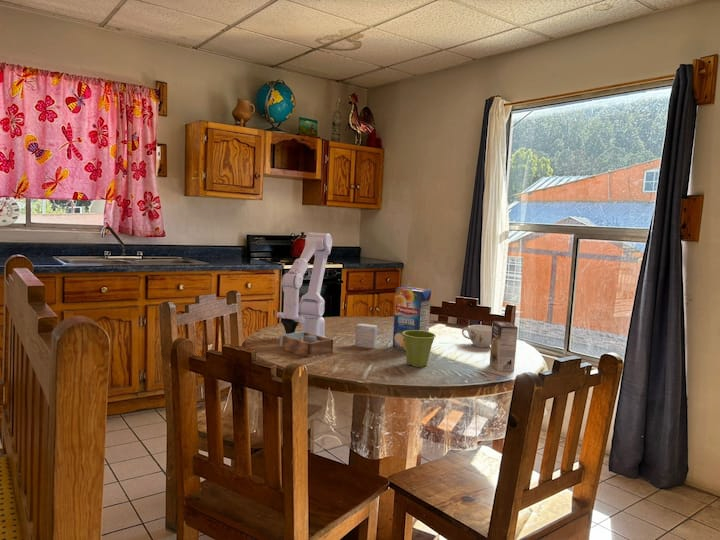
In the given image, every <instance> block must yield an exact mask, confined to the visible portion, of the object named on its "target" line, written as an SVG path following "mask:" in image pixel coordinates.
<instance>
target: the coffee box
mask: <svg viewBox="0 0 720 540" xmlns="http://www.w3.org/2000/svg"><path fill="white" fill-rule="evenodd" d="M491 326H492V338H491V345H490V351H489V352H490V353H489V355H490V356H489V365H490V366H492V368H493V369H495V370H496V371H497V372H514V371H515V364H516V352H517V342H518V341H517V339H518V331H519V330H518V329H519V328H518V326H516V325H514V324H513V323H511V322H509V321H494V320H493V321H492V324H491Z"/></svg>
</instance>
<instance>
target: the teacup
mask: <svg viewBox="0 0 720 540" xmlns="http://www.w3.org/2000/svg"><path fill="white" fill-rule="evenodd" d="M465 331H466V332H467V333H468V335H466V334H465V333H464V332H465ZM461 334H462V336H463V337H464V338H466V339H468V340H470V341H471V342H472V343H473V345H474V346H475V347H477V348H483V349H484V348H489V347H491V338H492V325H487V324H486V325H483V324H472V325H468V326H467V327H463V328H462V330H461Z"/></svg>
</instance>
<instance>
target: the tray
mask: <svg viewBox="0 0 720 540" xmlns="http://www.w3.org/2000/svg"><path fill="white" fill-rule="evenodd" d="M304 333H306V331H302V330H301V331H295V332H294V333H289V334H286V333H284V334H280V338H279V339H280V341H279V342H280V343H279V345H280V346H281V347H282V346H283V336H287V337H290V338H294V339H297V340H301V341H303V336H304ZM316 342H318V340H316Z"/></svg>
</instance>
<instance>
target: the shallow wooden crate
mask: <svg viewBox="0 0 720 540" xmlns="http://www.w3.org/2000/svg"><path fill="white" fill-rule="evenodd" d="M306 335H312V336H316V337H317V339H316V340H318V342H313V343H308V342H304V341H301V340H297V339H294V338H290V337H287V336H283V346H281V349H282V350H284V351H287V352H291V353H294V354H296V355H299V354H300V356H303V357H306V356H307V357H306V358H309V357H310V358H314V357H313V356H315V357H318V356H317V355H319V356H323V355H322V354H324V355H327V353H328V354H332V352H334V351H333V350H334V339H332V338H329V337H326V338H325V337H322V336H318V335H314V334H310V333H307V332H306V333H304V336H306Z"/></svg>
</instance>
